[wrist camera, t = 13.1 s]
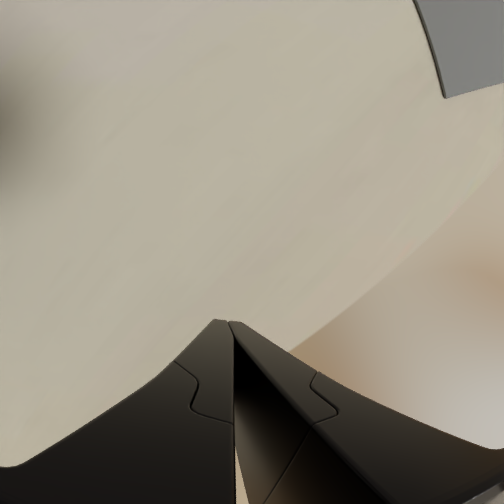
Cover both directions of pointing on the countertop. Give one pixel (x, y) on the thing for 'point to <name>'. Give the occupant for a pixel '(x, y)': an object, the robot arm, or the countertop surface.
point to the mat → (465, 42)
